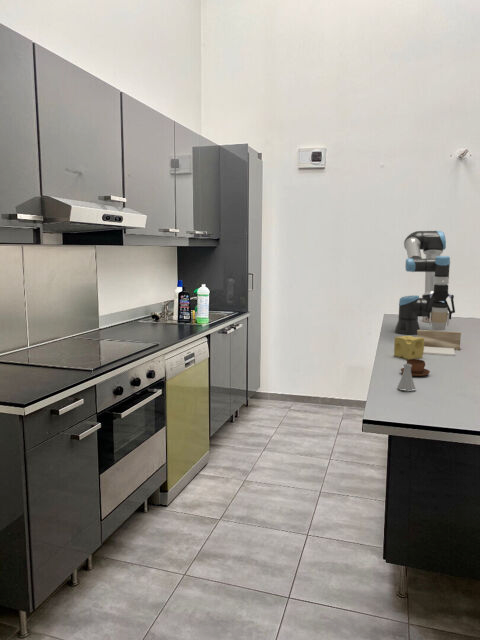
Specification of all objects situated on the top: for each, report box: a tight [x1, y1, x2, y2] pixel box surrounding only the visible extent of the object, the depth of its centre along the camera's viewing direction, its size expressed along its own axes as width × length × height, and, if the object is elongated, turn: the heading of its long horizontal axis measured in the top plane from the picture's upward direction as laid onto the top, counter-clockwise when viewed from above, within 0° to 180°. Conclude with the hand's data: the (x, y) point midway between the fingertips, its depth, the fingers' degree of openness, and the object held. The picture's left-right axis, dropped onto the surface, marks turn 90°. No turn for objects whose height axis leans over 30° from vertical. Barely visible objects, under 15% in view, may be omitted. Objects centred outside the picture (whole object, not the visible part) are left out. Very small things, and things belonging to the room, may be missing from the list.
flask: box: [397, 363, 416, 390], centre depth 205 cm, size 7×7×10 cm
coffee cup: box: [431, 302, 450, 331], centre depth 292 cm, size 9×9×15 cm
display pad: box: [423, 346, 456, 357], centre depth 276 cm, size 16×16×1 cm
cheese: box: [393, 335, 424, 360], centre depth 263 cm, size 10×11×10 cm
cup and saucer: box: [400, 358, 431, 377], centre depth 229 cm, size 12×12×6 cm
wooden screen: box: [416, 329, 462, 351], centre depth 285 cm, size 6×22×9 cm, turn 70°
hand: (438, 324), depth 293 cm, fingers closed on coffee cup, 8 cm apart
